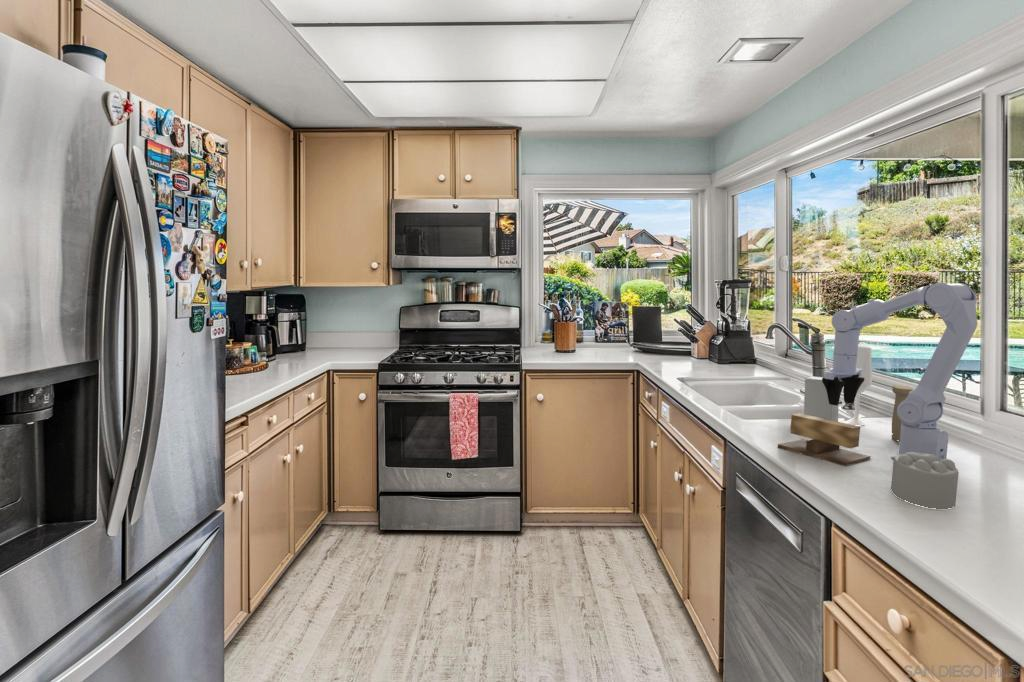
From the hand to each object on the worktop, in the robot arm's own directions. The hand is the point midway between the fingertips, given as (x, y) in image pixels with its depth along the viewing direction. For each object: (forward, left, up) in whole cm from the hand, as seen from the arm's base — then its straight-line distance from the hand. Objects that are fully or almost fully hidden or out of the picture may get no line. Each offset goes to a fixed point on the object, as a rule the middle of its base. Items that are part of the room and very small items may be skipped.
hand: (841, 403), depth 168 cm
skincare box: (+12, -11, -11) cm, 19 cm away
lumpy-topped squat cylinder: (-34, +29, -11) cm, 46 cm away
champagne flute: (+9, -25, -11) cm, 29 cm away
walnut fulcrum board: (-5, +16, -10) cm, 20 cm away
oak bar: (-5, +16, -7) cm, 18 cm away
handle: (-8, -16, -11) cm, 21 cm away
